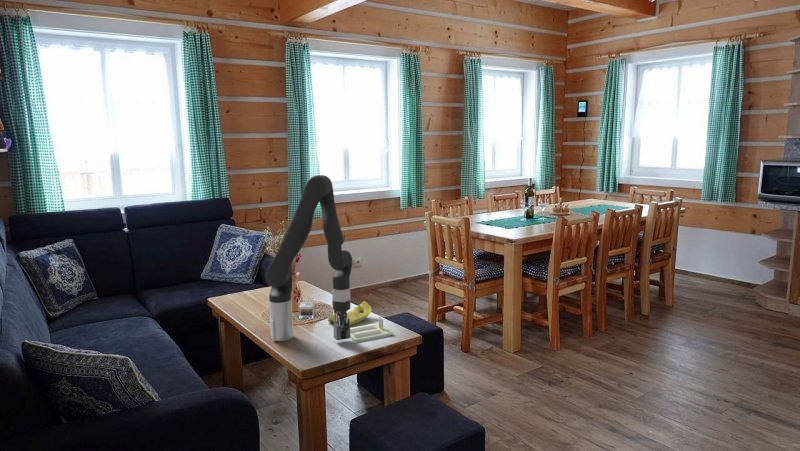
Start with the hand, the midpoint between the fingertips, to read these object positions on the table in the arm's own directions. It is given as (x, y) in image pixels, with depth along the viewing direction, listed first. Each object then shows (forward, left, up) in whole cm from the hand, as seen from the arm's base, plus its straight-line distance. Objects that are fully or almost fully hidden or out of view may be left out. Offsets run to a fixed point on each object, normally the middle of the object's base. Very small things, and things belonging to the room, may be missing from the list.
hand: (341, 336), depth 231 cm
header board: (+14, +3, -2) cm, 14 cm away
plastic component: (+12, +22, -3) cm, 25 cm away
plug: (0, 0, 0) cm, 0 cm away
